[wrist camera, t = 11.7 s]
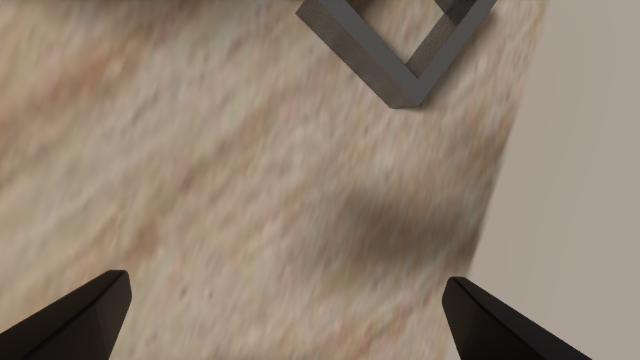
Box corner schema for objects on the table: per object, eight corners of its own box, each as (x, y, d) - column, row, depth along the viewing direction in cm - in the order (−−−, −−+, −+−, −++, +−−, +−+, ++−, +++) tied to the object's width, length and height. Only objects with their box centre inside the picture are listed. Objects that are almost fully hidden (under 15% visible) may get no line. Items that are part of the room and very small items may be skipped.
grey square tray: (390, 108, 21) (418, 105, 18) (295, 13, 18) (310, -8, 15) (462, 12, 21) (500, -5, 18) (380, -95, 18) (410, -134, 16)
